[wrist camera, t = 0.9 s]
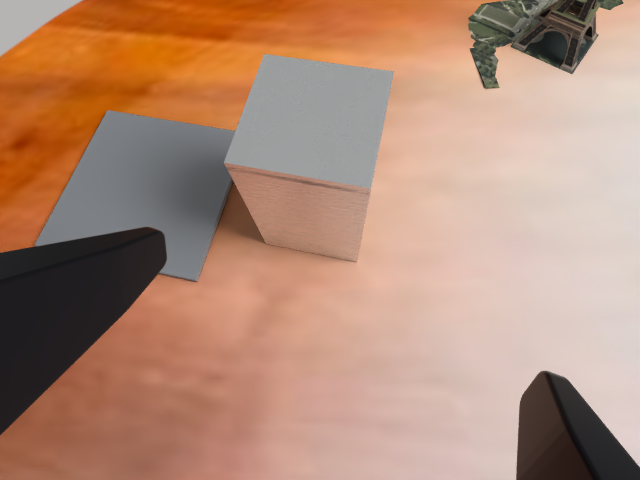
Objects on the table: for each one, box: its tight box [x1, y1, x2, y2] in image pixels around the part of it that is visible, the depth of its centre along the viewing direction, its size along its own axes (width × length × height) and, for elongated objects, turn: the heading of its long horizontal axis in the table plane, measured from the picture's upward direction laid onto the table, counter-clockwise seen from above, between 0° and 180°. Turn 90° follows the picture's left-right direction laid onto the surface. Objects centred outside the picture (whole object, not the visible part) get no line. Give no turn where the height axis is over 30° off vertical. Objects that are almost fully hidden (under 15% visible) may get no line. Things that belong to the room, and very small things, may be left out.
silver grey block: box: [224, 54, 394, 262], centre depth 21 cm, size 6×6×10 cm
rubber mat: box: [35, 110, 235, 282], centre depth 26 cm, size 12×12×1 cm
